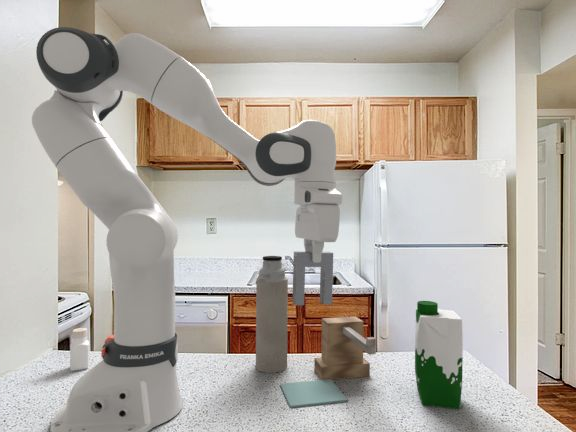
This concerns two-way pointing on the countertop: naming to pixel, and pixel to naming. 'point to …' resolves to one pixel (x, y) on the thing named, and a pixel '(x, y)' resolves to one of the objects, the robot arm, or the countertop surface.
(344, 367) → the wooden peg hook block
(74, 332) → the salt shaker
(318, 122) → the robot arm
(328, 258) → the grey arched block
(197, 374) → the countertop surface
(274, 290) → the thermos bottle
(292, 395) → the mat
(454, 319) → the milk carton
